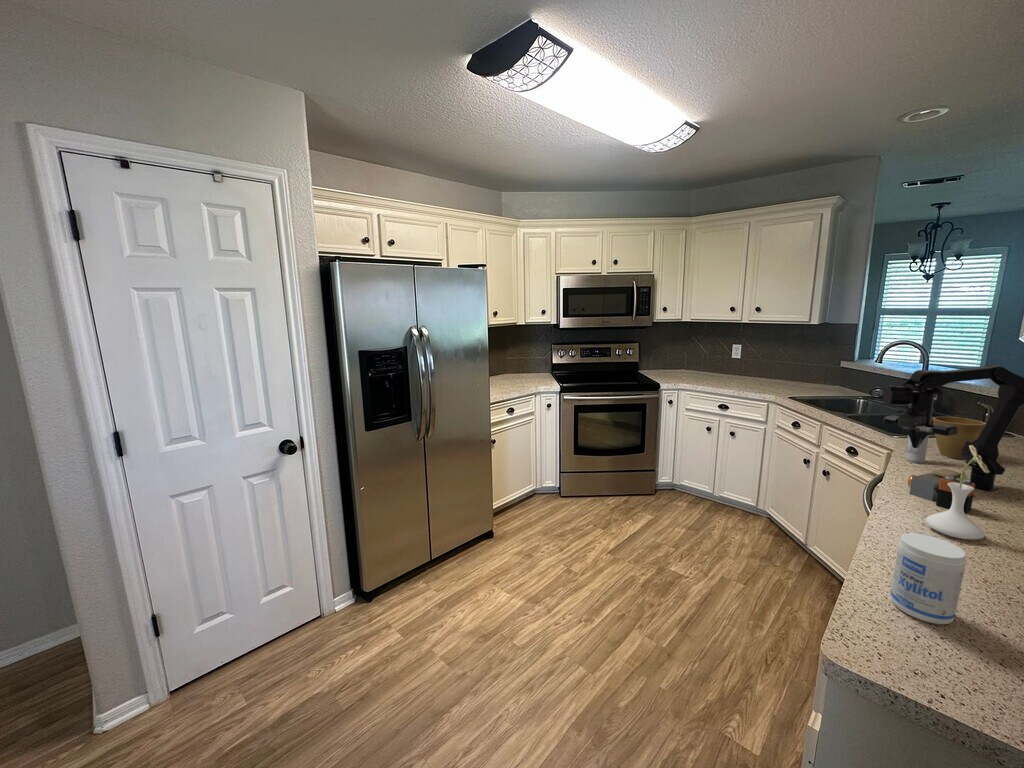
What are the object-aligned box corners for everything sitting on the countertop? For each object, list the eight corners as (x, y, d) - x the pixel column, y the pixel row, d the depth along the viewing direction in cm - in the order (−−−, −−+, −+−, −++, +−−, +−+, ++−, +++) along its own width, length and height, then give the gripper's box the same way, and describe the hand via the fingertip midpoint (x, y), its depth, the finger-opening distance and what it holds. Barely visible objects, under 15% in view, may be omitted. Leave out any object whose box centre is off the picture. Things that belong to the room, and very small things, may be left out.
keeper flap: (943, 471, 143) (944, 468, 143) (960, 475, 139) (961, 473, 139) (931, 473, 141) (931, 470, 141) (948, 478, 137) (948, 475, 137)
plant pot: (970, 454, 178) (976, 418, 175) (985, 464, 165) (991, 426, 163) (923, 449, 186) (928, 414, 183) (933, 458, 173) (939, 421, 171)
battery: (965, 514, 125) (971, 483, 123) (935, 505, 131) (939, 475, 129) (971, 511, 127) (976, 480, 125) (940, 502, 133) (945, 473, 131)
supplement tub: (890, 612, 85) (900, 546, 82) (888, 588, 92) (897, 527, 89) (959, 634, 78) (971, 564, 76) (951, 607, 86) (962, 542, 83)
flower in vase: (974, 548, 107) (991, 456, 103) (916, 528, 117) (930, 444, 113) (992, 535, 113) (1009, 448, 109) (936, 518, 123) (949, 437, 119)
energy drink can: (928, 463, 167) (934, 428, 165) (913, 463, 167) (919, 428, 165) (914, 458, 173) (919, 424, 171) (900, 458, 173) (905, 424, 171)
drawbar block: (938, 487, 145) (940, 470, 144) (961, 493, 139) (963, 476, 138) (909, 493, 140) (911, 477, 139) (931, 501, 134) (934, 483, 133)
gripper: (876, 402, 152) (870, 443, 155) (941, 413, 135) (934, 458, 137) (895, 400, 156) (890, 439, 158) (961, 410, 139) (954, 454, 141)
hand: (915, 447), depth 149 cm, fingers closed
